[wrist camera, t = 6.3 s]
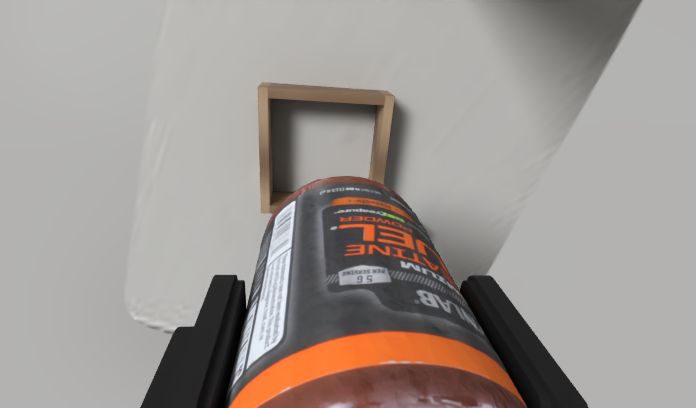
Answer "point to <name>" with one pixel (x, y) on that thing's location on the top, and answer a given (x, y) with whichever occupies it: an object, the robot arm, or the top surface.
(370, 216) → the supplement bottle
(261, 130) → the holder
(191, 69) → the top surface
